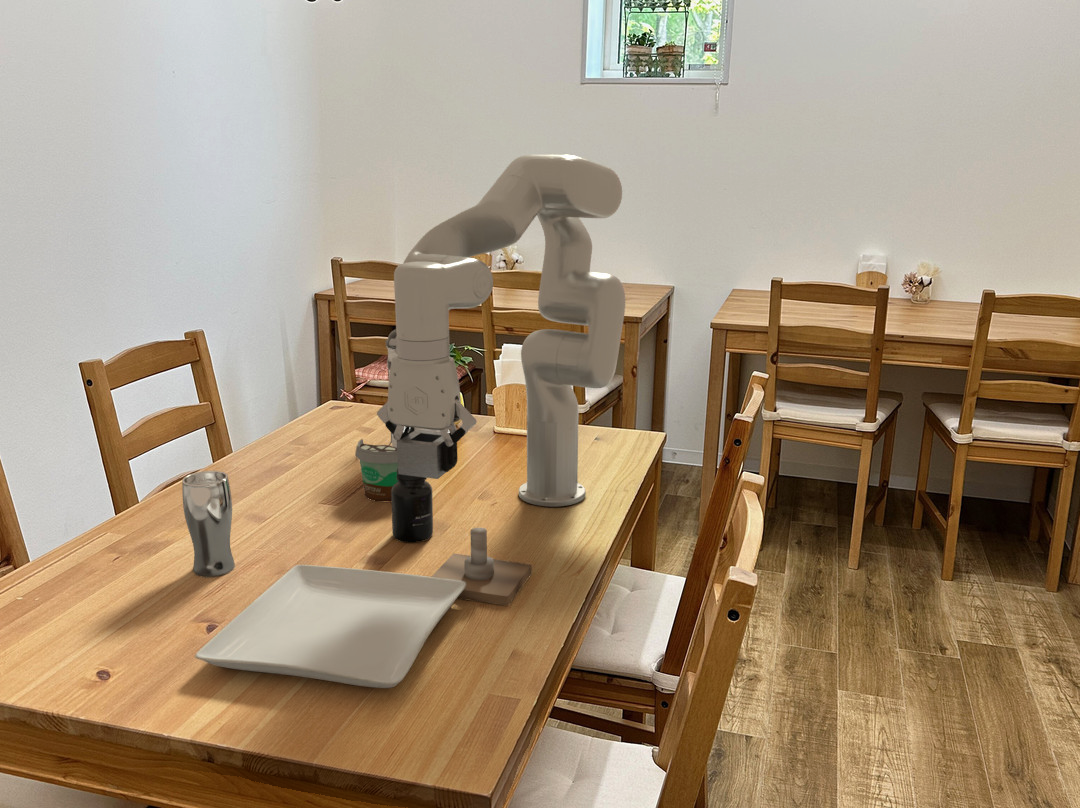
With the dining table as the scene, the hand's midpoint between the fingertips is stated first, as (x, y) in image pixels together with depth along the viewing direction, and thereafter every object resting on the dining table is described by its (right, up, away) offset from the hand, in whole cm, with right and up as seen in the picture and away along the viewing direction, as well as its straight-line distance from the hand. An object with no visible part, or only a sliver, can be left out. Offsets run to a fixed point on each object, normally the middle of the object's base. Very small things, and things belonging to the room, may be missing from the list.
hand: (427, 465), depth 136 cm
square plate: (-10, -23, -14) cm, 28 cm away
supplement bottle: (-5, -13, +18) cm, 23 cm away
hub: (0, -1, 0) cm, 1 cm away
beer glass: (-34, -17, +5) cm, 38 cm away
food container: (-13, -9, +34) cm, 38 cm away
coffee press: (-10, -2, +60) cm, 61 cm away
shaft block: (+8, -18, +1) cm, 19 cm away
